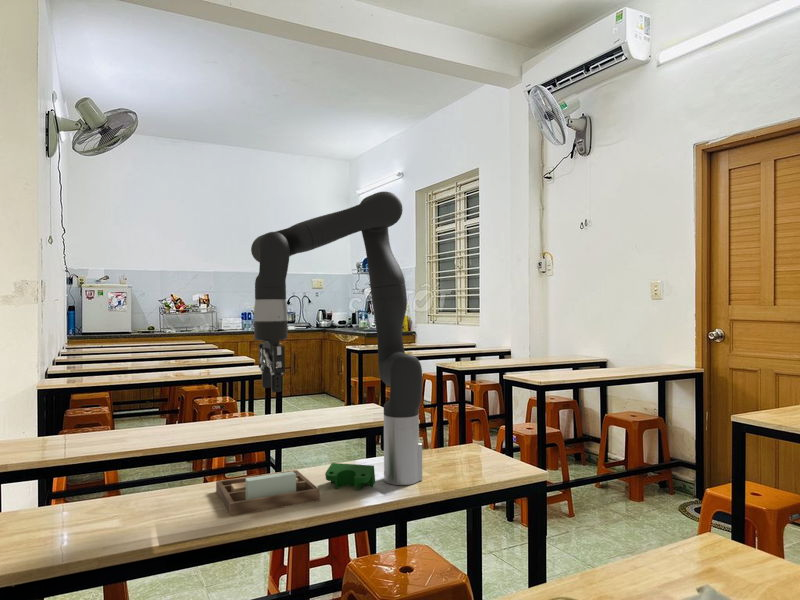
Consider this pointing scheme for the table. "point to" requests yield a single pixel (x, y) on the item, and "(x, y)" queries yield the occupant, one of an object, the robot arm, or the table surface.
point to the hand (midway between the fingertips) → (271, 389)
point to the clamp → (350, 475)
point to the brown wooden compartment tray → (240, 505)
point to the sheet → (270, 485)
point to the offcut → (238, 487)
